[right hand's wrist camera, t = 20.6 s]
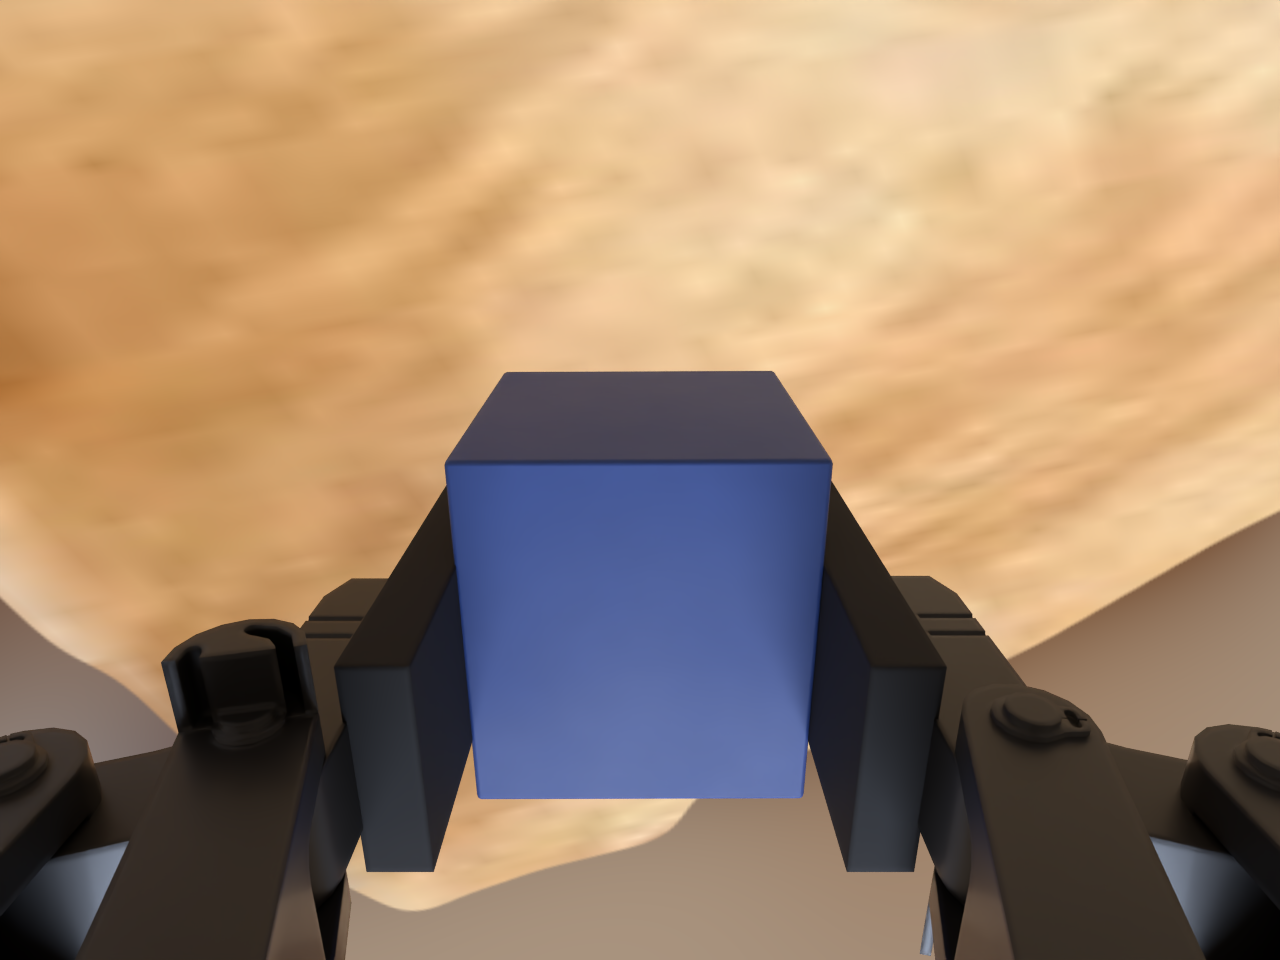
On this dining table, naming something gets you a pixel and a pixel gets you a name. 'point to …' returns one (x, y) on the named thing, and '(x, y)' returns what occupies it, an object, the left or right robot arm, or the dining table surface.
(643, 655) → the blue cube
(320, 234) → the dining table surface
